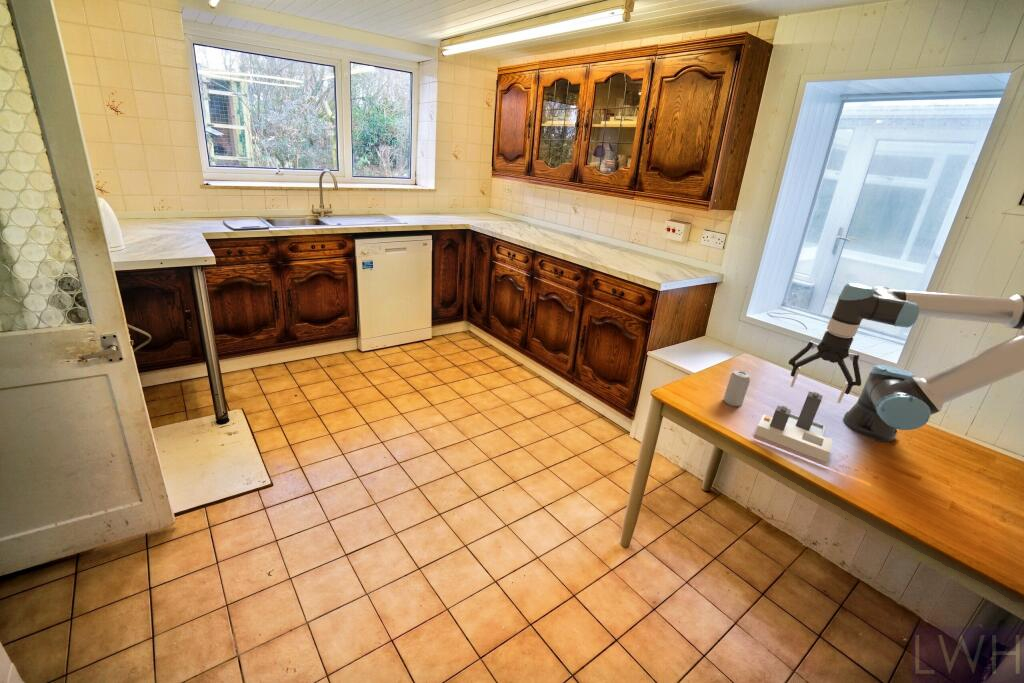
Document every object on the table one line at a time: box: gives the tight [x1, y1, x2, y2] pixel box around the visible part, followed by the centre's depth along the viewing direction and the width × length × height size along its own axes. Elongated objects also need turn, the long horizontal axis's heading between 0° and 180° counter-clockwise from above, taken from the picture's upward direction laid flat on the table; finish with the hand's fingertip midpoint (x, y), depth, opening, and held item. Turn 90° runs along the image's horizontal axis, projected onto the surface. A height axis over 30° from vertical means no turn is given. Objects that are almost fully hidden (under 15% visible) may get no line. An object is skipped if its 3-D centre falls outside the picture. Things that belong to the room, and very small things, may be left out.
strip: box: [754, 405, 833, 463], centre depth 148 cm, size 20×9×11 cm, turn 53°
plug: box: [796, 390, 824, 431], centre depth 157 cm, size 4×4×13 cm
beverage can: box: [723, 369, 751, 408], centre depth 169 cm, size 6×6×12 cm
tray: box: [787, 412, 826, 436], centre depth 160 cm, size 12×10×2 cm
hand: (814, 393), depth 155 cm, fingers open, 13 cm apart
